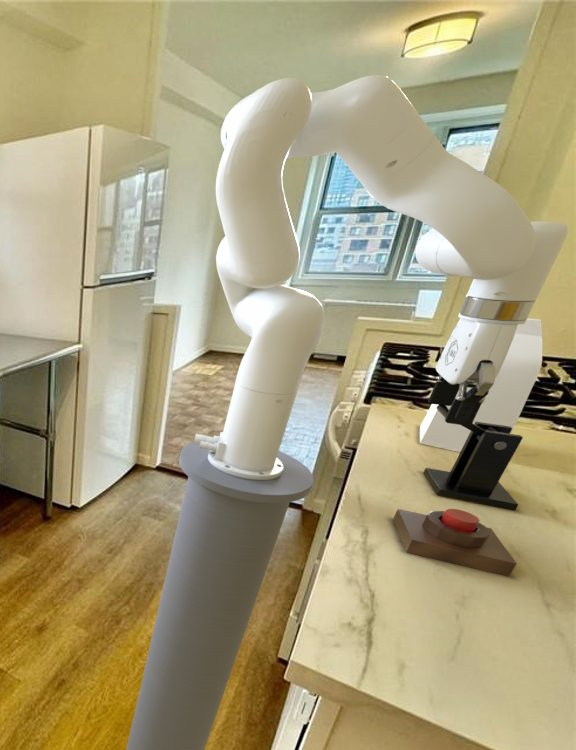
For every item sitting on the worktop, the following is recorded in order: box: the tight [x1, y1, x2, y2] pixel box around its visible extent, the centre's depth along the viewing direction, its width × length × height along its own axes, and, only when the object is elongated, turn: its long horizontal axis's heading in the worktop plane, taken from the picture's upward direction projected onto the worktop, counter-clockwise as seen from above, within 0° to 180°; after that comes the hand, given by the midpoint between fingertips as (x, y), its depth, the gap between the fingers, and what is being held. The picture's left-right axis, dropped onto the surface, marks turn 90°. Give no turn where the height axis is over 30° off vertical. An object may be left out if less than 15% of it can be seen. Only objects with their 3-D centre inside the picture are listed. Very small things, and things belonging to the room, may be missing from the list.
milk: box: [419, 317, 543, 453], centre depth 96 cm, size 12×12×26 cm
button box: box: [392, 508, 518, 577], centre depth 69 cm, size 11×9×4 cm
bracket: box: [422, 422, 524, 511], centre depth 82 cm, size 10×9×12 cm
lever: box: [437, 404, 498, 440], centre depth 81 cm, size 10×6×2 cm, turn 63°
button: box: [440, 508, 480, 533], centre depth 68 cm, size 4×4×2 cm
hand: (447, 413), depth 82 cm, fingers open, 9 cm apart
